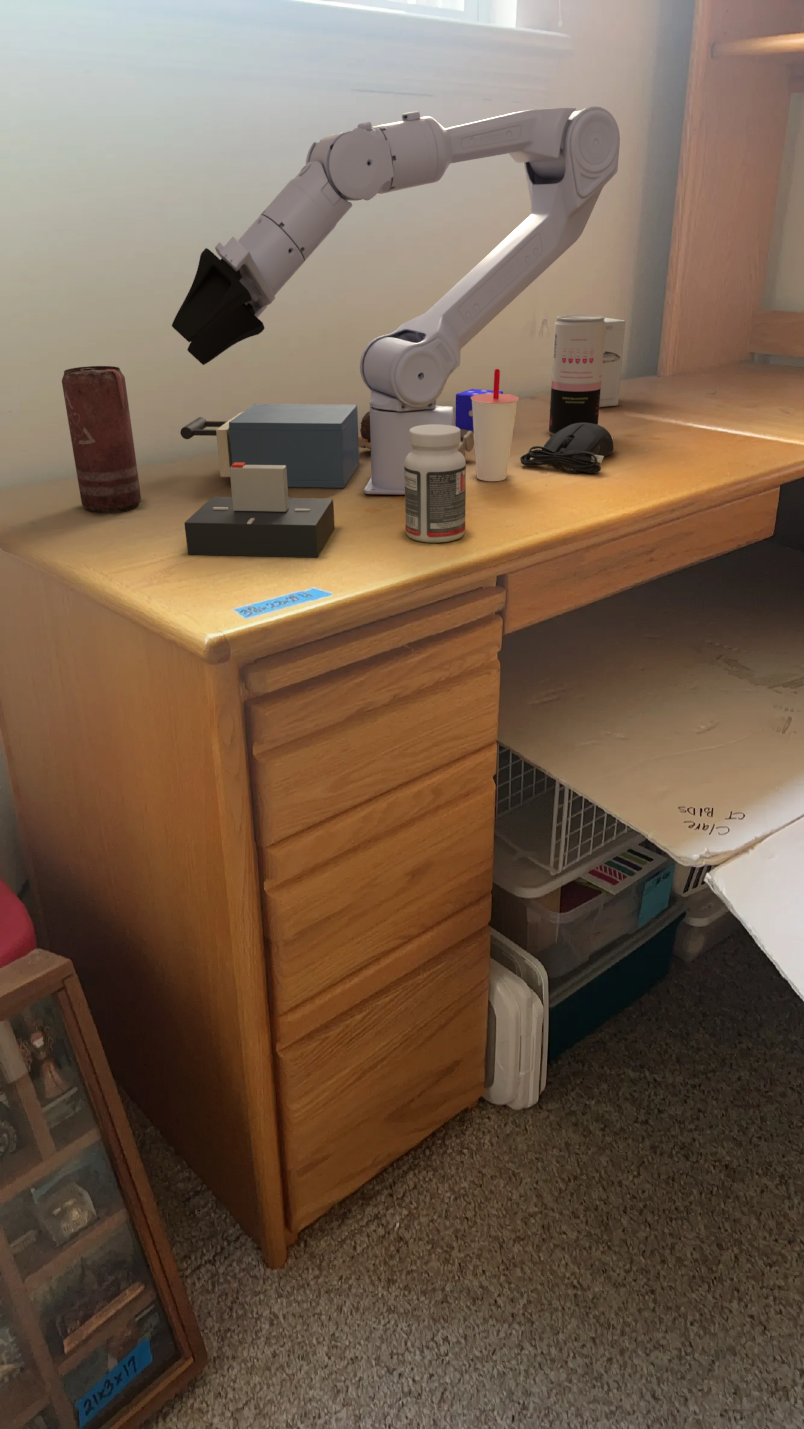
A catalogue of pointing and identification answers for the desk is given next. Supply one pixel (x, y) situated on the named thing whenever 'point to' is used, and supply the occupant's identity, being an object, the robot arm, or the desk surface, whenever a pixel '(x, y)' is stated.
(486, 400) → the cup
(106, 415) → the can
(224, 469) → the drawer
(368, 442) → the figurine
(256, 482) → the grey block
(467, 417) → the die
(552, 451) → the computer mouse
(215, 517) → the control panel
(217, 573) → the desk surface
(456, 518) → the pill bottle
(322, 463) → the compartment
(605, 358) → the white packaging box
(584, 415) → the beverage can
